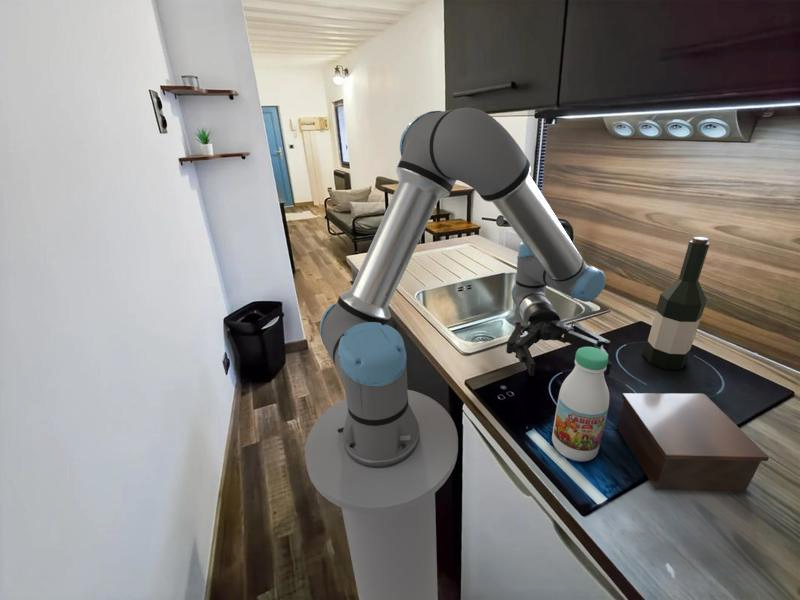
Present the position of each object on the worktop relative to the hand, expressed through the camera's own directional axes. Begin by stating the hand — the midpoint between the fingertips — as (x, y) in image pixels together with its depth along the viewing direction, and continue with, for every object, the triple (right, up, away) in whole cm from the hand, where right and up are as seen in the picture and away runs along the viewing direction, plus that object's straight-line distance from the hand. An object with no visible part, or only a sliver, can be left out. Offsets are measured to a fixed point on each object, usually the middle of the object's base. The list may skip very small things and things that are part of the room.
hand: (570, 369), depth 68 cm
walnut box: (+16, -14, -5) cm, 22 cm away
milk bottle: (0, -14, -1) cm, 14 cm away
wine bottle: (+32, -1, +20) cm, 38 cm away
